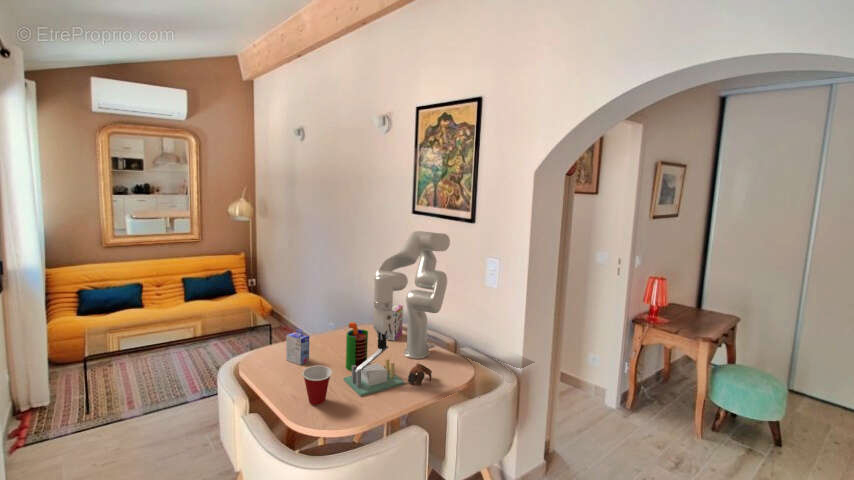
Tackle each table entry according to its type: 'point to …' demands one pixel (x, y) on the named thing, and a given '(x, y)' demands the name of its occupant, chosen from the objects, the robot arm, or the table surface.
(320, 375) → the plastic cup
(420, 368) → the pottery mug
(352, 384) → the board
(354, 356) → the motor
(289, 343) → the ink cartridge box
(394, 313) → the candy bar box
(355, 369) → the strap
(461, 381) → the table surface
